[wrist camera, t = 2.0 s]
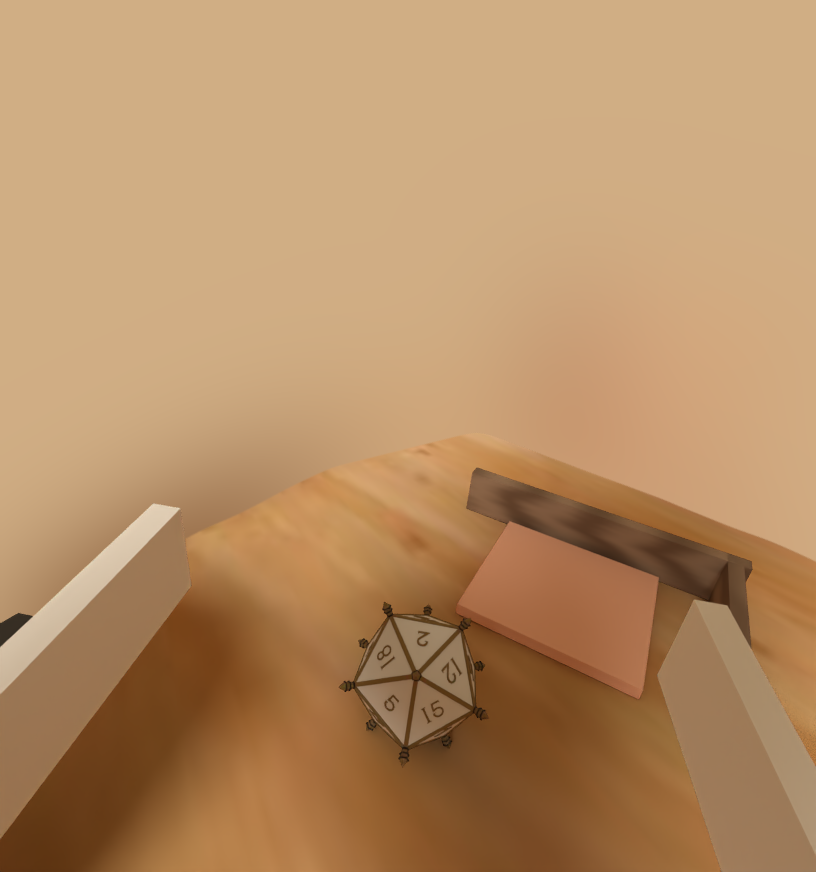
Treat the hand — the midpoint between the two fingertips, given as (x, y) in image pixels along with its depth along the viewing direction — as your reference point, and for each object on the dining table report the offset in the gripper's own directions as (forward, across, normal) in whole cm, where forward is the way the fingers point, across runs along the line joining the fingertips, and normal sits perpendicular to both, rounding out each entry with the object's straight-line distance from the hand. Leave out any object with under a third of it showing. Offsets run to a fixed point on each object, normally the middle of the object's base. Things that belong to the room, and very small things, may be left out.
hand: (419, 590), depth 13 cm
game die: (+11, 0, -22) cm, 24 cm away
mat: (+24, +11, -21) cm, 34 cm away
